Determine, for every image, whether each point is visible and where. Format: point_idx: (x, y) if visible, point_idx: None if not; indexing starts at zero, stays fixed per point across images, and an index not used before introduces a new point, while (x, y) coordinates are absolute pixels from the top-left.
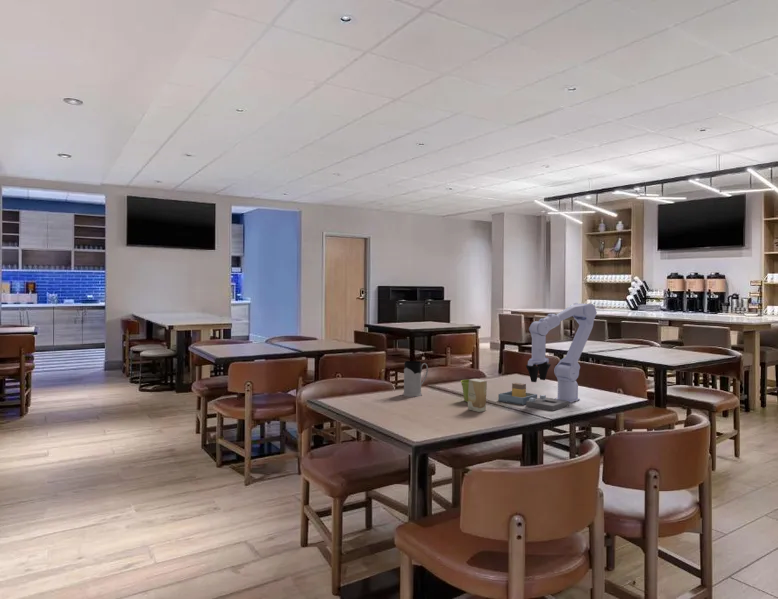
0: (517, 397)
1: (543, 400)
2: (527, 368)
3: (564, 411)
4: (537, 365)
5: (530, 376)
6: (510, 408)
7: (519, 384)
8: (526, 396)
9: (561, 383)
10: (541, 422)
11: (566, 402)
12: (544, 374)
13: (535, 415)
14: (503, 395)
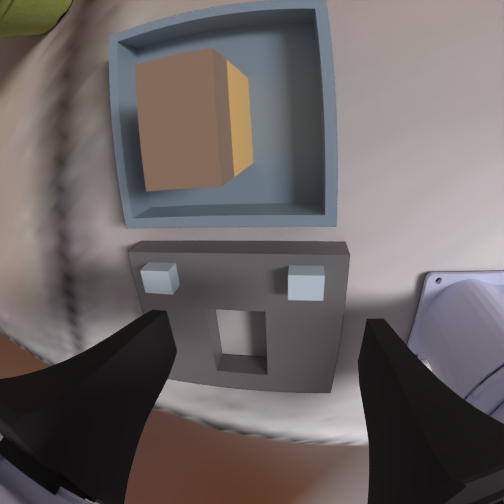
0: (119, 185)
1: (240, 309)
2: (14, 385)
3: (206, 392)
4: (434, 460)
5: (111, 342)
6: (59, 215)
7: (142, 154)
8: (321, 130)
9: (455, 388)
10: (52, 365)
11: (306, 389)
12: (369, 413)
13: (74, 336)
14: (111, 73)
